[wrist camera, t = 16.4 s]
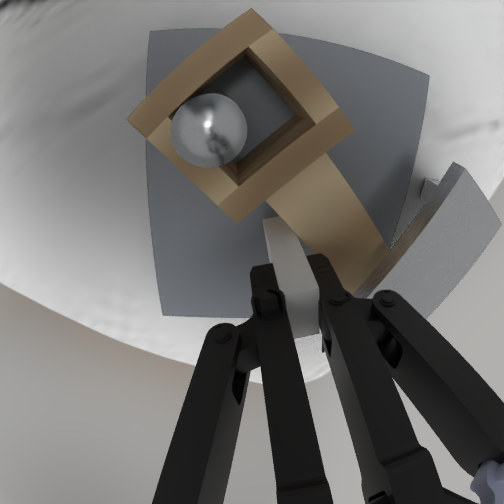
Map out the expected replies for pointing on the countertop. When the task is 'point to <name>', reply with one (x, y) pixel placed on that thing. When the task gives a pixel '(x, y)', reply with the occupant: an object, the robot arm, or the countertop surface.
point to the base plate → (258, 129)
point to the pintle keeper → (412, 240)
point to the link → (274, 149)
